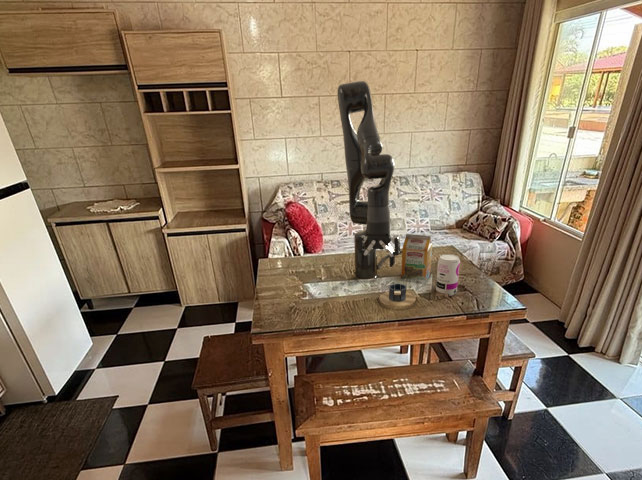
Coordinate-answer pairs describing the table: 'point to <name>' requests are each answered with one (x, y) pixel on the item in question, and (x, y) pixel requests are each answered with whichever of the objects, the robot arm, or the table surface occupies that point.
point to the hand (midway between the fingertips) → (379, 265)
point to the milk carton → (416, 257)
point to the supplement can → (447, 274)
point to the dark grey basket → (397, 292)
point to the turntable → (409, 300)
